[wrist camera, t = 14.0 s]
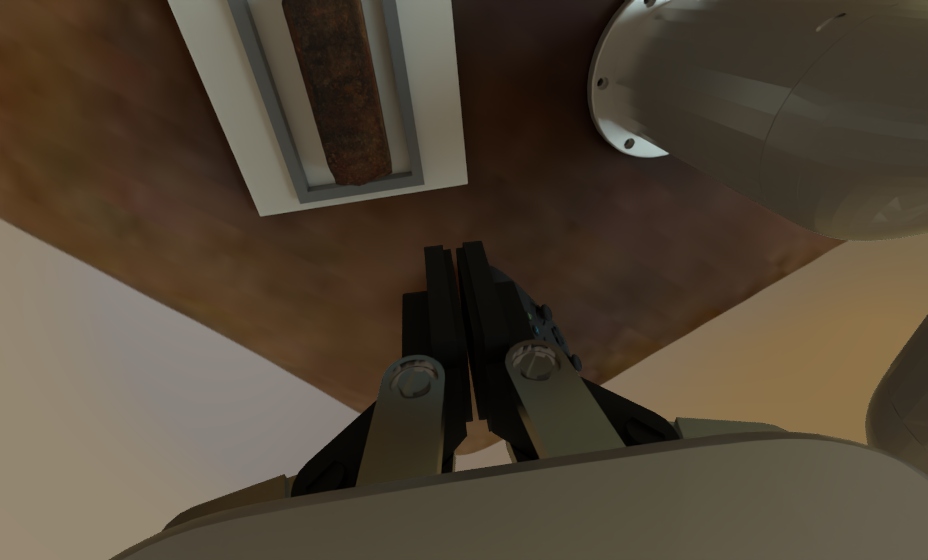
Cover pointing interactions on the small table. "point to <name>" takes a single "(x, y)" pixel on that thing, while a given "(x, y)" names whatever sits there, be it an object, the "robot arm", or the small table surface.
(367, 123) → the brick
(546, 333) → the gaming controller
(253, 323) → the small table surface
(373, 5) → the baseplate
